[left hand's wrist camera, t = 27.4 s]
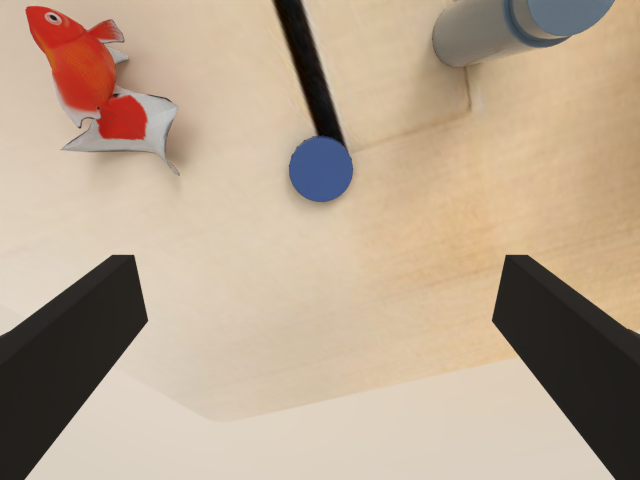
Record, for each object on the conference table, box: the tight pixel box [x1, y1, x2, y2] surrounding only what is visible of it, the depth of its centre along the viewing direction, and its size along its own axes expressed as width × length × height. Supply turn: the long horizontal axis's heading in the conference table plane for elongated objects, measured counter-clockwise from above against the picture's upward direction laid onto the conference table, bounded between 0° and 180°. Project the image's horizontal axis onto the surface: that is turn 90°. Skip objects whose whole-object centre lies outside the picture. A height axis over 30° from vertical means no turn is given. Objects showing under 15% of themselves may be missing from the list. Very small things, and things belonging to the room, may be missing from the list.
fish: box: [26, 6, 180, 176], centre depth 31 cm, size 11×16×10 cm
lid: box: [289, 135, 353, 202], centre depth 36 cm, size 6×6×2 cm
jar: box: [433, 0, 615, 67], centre depth 26 cm, size 6×6×16 cm
